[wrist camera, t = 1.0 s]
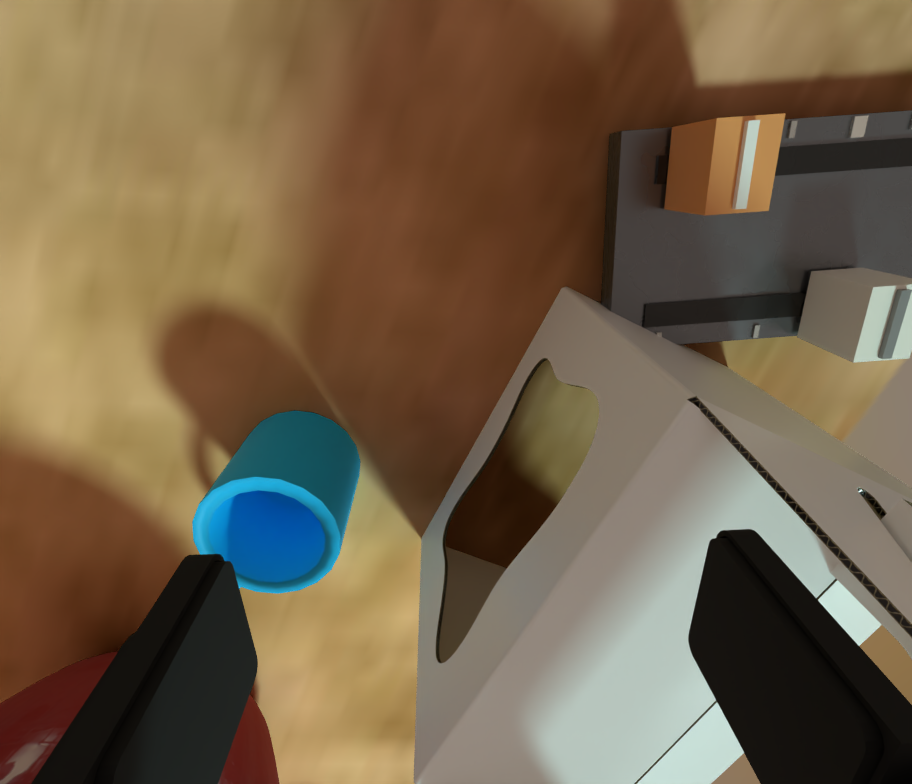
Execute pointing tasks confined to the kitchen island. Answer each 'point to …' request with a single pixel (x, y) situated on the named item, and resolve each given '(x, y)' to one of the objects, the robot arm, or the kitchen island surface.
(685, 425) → the gable box
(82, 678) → the mixing bowl
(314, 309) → the kitchen island surface
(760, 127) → the fader orange
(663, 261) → the console
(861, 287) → the fader ivory
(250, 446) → the mug
